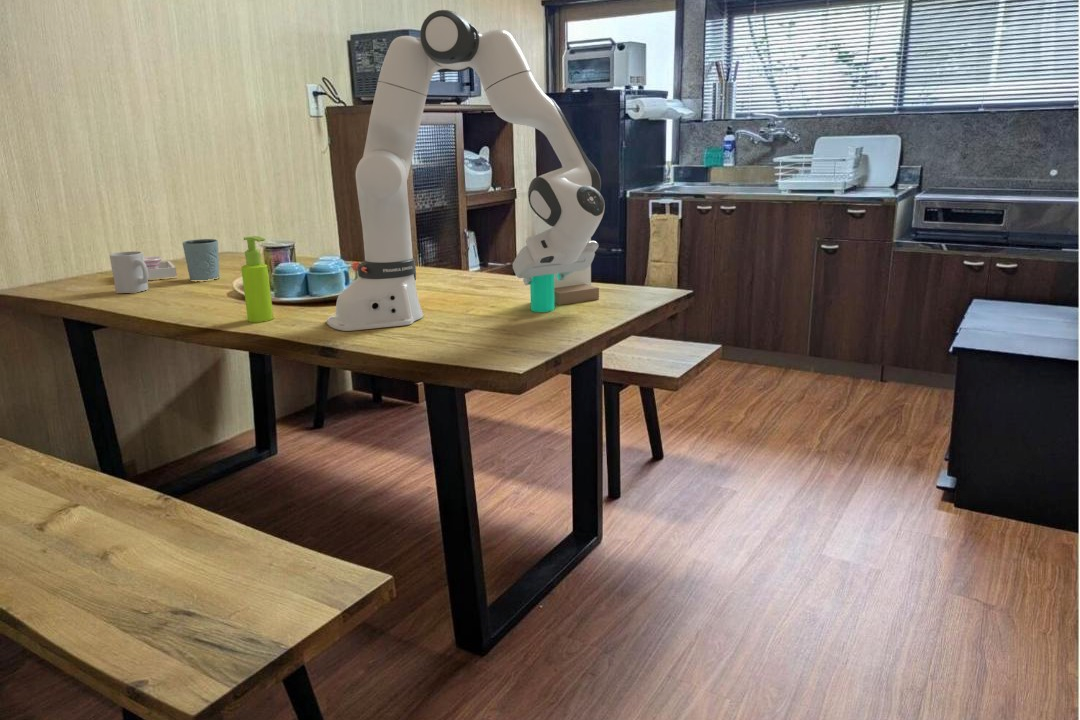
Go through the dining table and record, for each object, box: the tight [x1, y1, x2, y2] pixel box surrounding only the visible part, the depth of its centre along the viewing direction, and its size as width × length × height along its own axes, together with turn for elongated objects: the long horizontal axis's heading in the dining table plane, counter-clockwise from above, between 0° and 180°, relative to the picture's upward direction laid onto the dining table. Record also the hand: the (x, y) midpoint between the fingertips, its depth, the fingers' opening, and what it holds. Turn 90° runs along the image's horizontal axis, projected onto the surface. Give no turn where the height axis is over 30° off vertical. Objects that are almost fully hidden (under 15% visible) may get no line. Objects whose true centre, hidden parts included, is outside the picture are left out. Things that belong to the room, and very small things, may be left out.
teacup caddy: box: [148, 260, 178, 279], centre depth 248 cm, size 16×16×4 cm
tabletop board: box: [534, 214, 600, 306], centre depth 201 cm, size 16×8×22 cm, turn 121°
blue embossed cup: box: [182, 238, 221, 281], centre depth 241 cm, size 10×10×12 cm
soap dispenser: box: [240, 235, 274, 323], centre depth 186 cm, size 6×7×20 cm
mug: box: [109, 251, 149, 294], centre depth 225 cm, size 12×8×11 cm
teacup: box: [143, 255, 162, 270], centre depth 248 cm, size 12×12×6 cm
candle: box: [529, 274, 555, 313], centre depth 192 cm, size 6×6×12 cm
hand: (543, 280), depth 191 cm, fingers open, 8 cm apart
